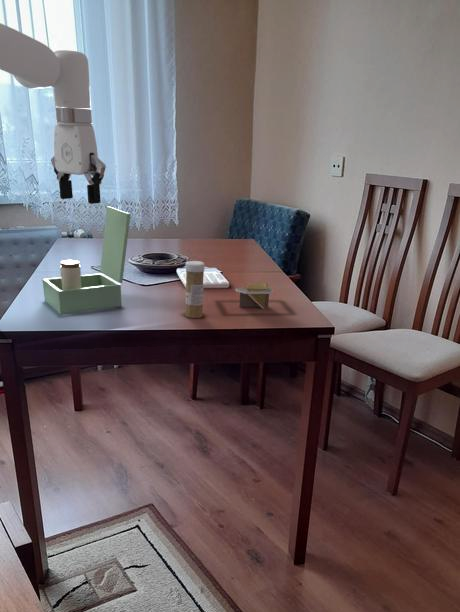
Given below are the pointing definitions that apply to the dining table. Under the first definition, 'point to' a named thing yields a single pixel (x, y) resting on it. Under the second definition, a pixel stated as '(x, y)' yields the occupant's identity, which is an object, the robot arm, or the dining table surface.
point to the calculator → (207, 278)
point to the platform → (254, 295)
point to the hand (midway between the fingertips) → (80, 200)
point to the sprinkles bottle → (194, 289)
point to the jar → (70, 274)
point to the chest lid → (115, 243)
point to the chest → (83, 294)
